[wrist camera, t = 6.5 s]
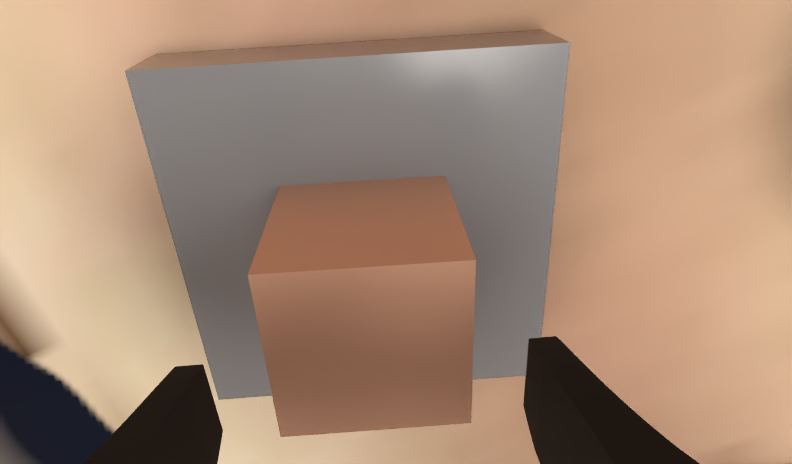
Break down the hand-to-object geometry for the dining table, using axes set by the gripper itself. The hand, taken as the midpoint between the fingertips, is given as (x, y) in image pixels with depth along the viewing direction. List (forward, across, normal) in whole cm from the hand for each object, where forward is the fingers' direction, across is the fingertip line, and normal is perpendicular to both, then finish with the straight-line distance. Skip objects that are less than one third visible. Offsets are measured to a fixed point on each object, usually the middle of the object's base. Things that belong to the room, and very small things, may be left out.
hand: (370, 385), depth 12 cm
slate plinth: (+9, 0, 0) cm, 9 cm away
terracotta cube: (+6, 0, 0) cm, 6 cm away
